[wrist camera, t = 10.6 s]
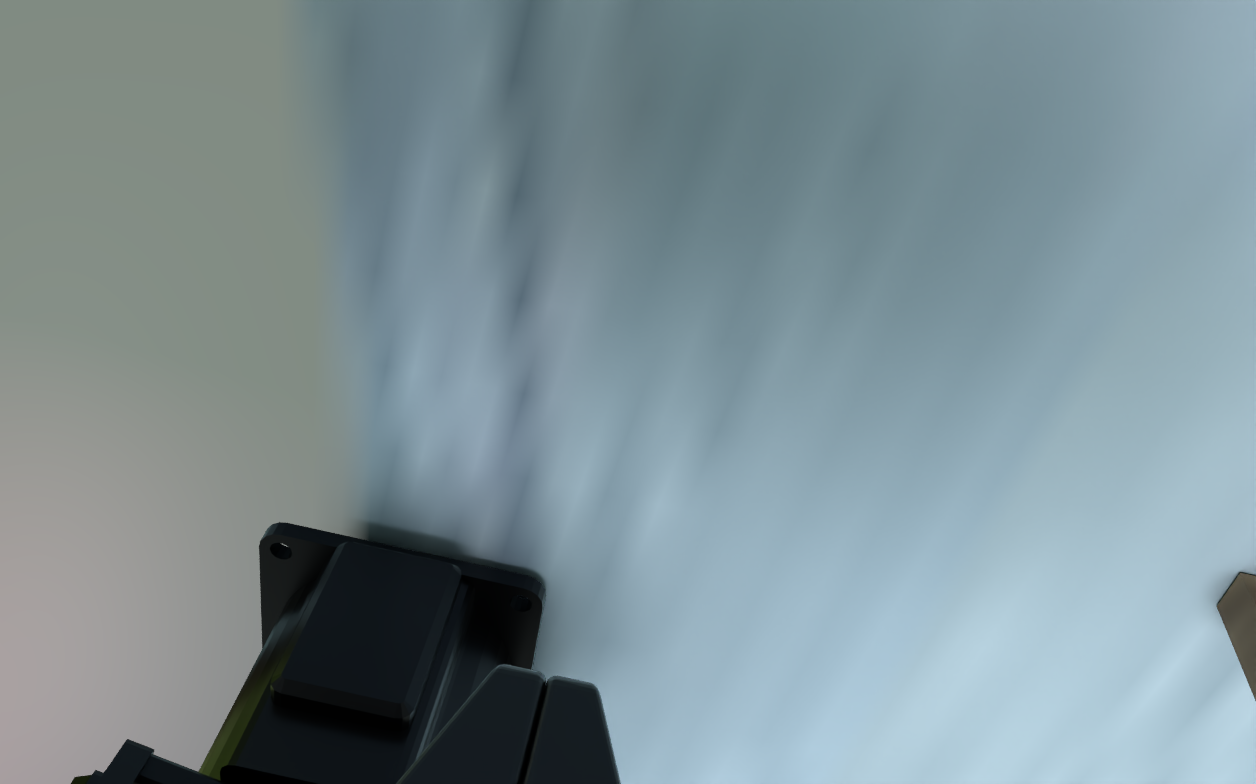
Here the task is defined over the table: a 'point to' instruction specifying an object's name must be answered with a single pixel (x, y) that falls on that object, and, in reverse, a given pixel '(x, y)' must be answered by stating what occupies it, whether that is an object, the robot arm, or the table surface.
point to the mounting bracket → (1242, 623)
